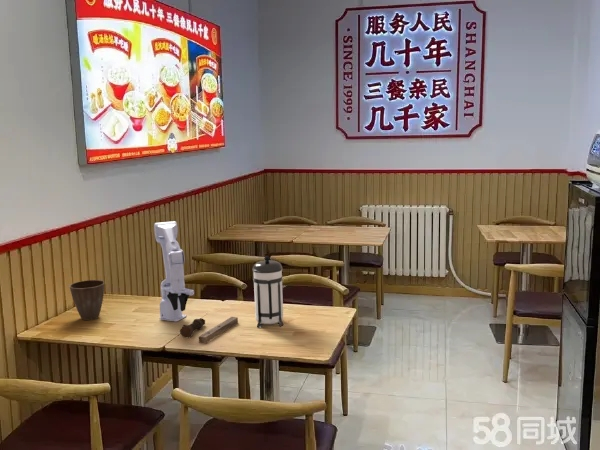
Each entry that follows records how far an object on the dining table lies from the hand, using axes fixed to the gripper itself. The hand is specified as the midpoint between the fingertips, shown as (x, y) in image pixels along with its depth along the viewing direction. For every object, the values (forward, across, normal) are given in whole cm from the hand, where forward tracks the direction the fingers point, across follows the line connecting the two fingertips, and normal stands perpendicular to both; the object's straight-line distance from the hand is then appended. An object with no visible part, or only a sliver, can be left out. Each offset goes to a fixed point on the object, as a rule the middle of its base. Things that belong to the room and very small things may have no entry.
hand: (179, 310), depth 248 cm
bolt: (+9, +7, 0) cm, 12 cm away
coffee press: (+9, +34, +18) cm, 39 cm away
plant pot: (+9, -49, -1) cm, 50 cm away
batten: (+8, +18, +2) cm, 20 cm away
